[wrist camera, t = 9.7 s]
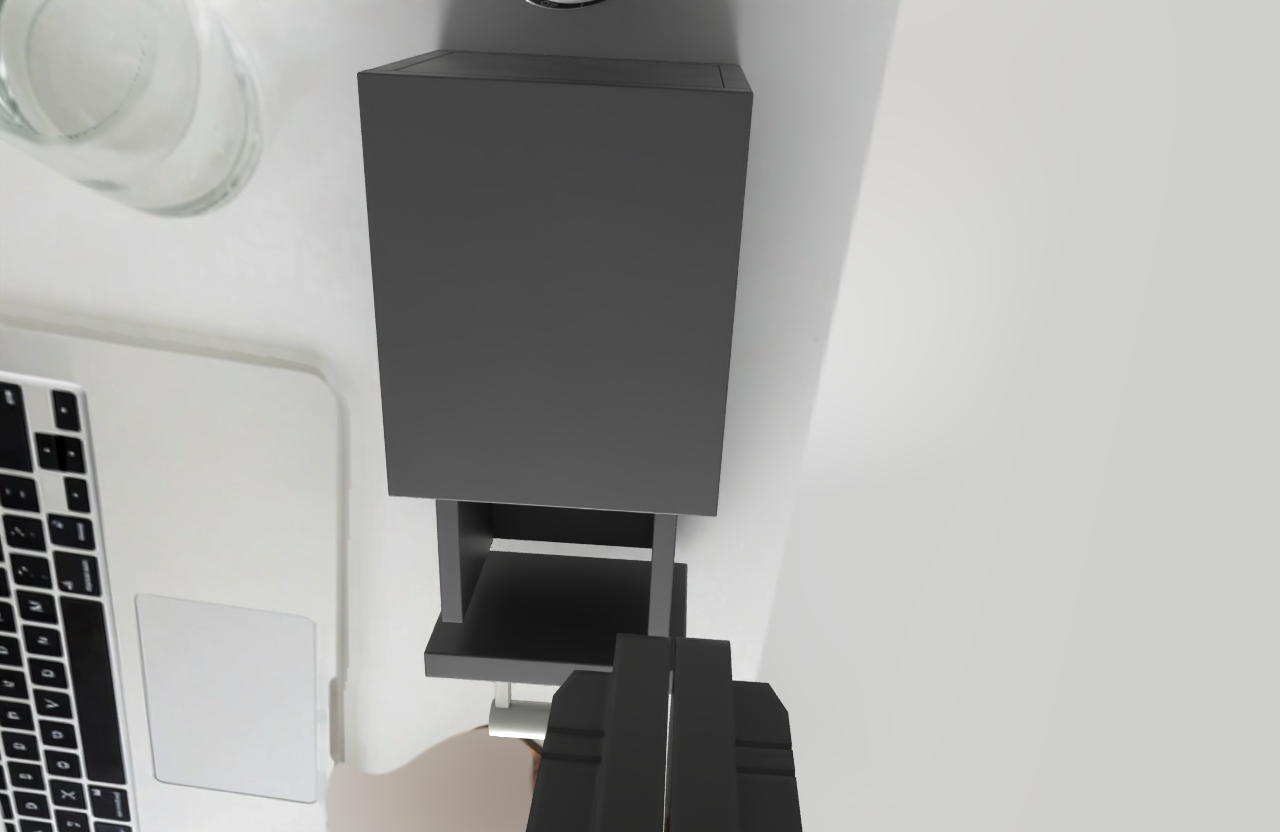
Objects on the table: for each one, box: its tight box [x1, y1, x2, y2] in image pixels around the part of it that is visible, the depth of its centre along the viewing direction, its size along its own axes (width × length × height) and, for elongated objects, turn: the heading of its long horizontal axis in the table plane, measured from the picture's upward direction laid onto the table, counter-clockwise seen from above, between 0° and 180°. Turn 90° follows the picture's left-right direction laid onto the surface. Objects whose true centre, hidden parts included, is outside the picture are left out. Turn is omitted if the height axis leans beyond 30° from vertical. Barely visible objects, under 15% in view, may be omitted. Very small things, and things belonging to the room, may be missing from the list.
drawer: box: [424, 499, 687, 739], centre depth 39 cm, size 18×10×7 cm, turn 178°
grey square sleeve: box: [357, 50, 753, 517], centre depth 34 cm, size 14×11×9 cm
